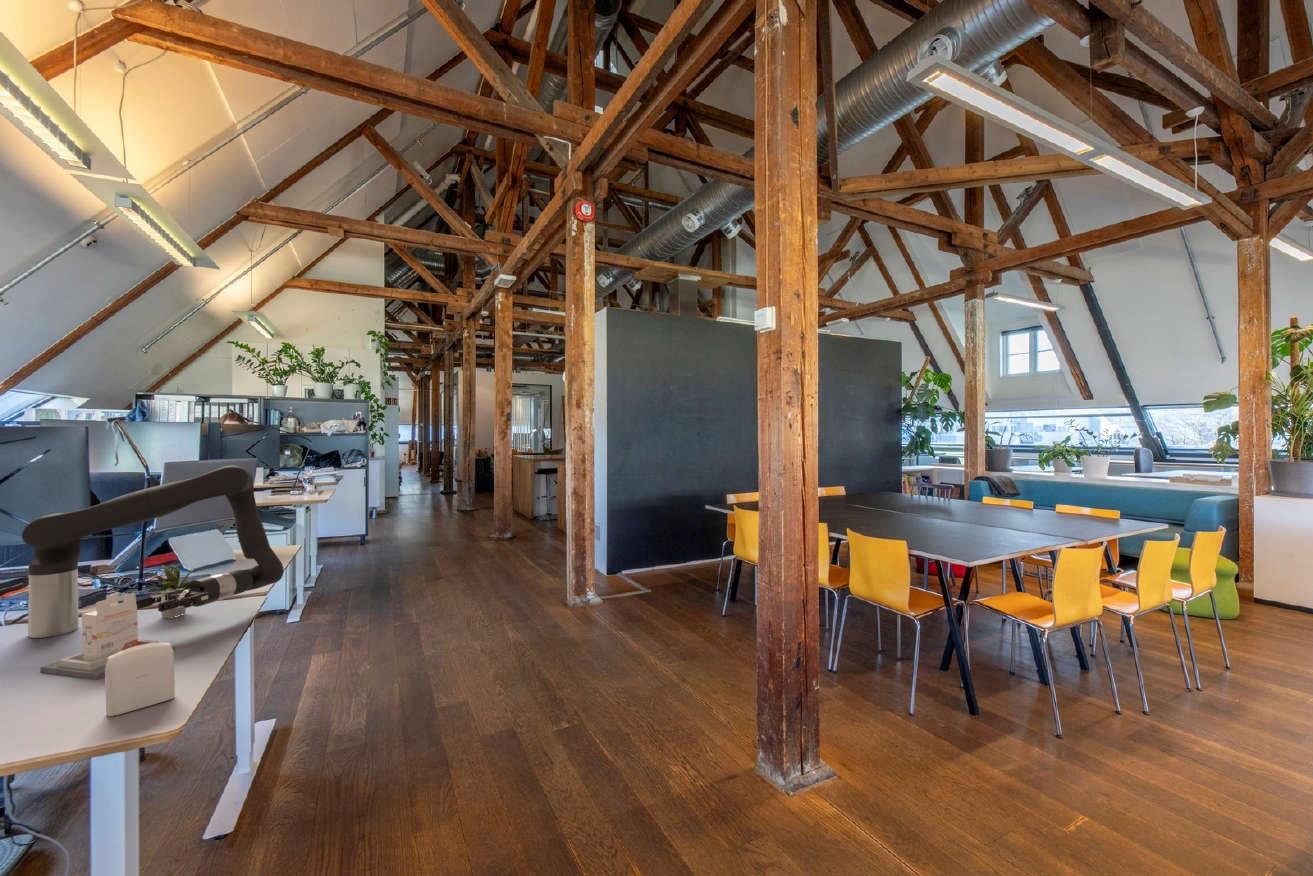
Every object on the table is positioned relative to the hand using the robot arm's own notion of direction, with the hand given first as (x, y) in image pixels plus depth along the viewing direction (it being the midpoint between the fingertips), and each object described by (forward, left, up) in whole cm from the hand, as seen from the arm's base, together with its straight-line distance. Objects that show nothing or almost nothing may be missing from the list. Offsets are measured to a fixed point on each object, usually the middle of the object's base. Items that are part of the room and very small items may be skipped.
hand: (146, 606), depth 139 cm
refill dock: (0, -8, -11) cm, 13 cm away
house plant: (-23, +21, -11) cm, 33 cm away
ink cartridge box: (0, -8, -10) cm, 13 cm away
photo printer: (+33, -23, -11) cm, 41 cm away
